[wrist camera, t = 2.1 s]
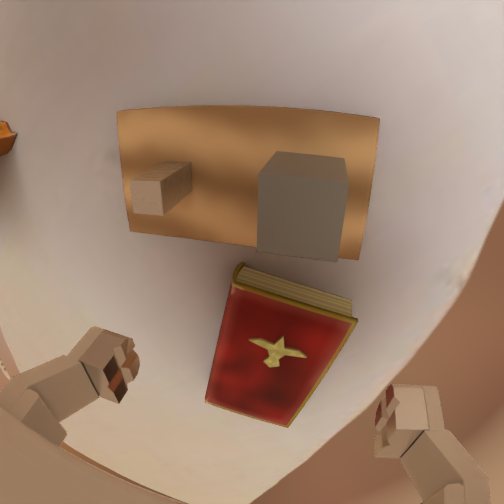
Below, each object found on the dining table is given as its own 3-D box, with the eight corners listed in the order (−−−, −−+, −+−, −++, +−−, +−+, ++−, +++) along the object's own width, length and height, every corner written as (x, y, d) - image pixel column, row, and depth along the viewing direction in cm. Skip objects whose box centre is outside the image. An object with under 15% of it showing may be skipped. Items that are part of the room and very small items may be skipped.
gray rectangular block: (276, 151, 24) (258, 173, 18) (344, 158, 23) (348, 183, 17) (273, 212, 26) (256, 251, 21) (336, 220, 25) (337, 262, 20)
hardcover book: (211, 379, 42) (201, 403, 39) (240, 258, 31) (228, 283, 28) (292, 405, 41) (287, 429, 38) (356, 295, 30) (357, 323, 27)
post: (163, 161, 26) (129, 180, 22) (191, 161, 26) (160, 181, 21) (166, 189, 28) (133, 213, 23) (192, 191, 27) (163, 215, 22)
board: (124, 110, 26) (116, 112, 25) (377, 117, 22) (379, 119, 21) (136, 226, 32) (130, 231, 31) (357, 253, 28) (358, 260, 27)
